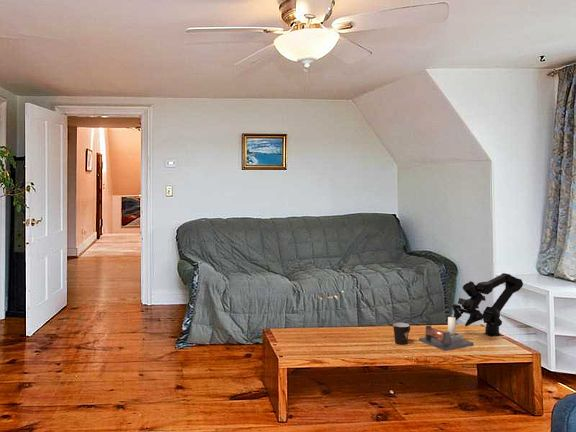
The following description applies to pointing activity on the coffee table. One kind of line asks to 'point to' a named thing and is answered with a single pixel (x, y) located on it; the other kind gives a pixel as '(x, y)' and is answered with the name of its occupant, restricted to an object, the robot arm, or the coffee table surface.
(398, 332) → the coffee mug
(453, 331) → the handle post
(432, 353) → the coffee table surface
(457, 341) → the winch base
